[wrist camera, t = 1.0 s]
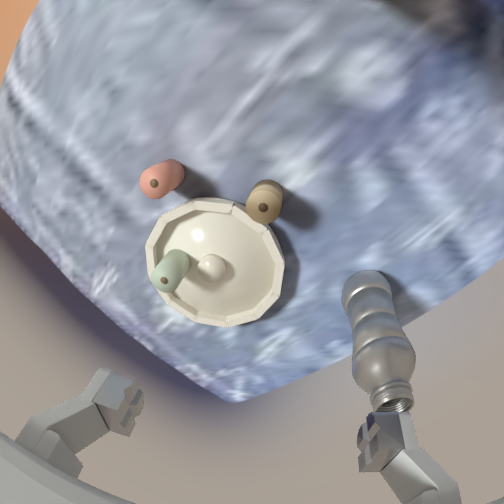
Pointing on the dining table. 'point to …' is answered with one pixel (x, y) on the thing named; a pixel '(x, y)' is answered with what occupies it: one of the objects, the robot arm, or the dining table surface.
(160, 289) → the bead
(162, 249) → the tray
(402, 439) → the robot arm
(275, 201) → the bead
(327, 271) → the dining table surface
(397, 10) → the dining table surface
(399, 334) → the silver metal bottle
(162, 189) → the bead
